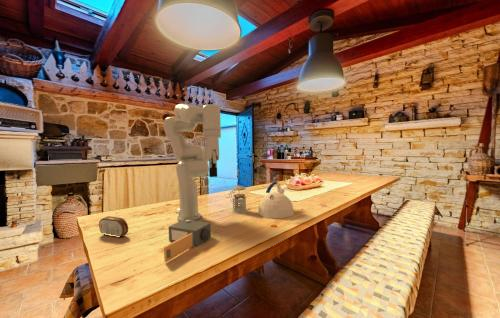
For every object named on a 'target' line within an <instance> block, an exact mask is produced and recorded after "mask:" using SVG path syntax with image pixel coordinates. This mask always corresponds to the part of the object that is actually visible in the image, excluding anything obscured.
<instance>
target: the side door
mask: <svg viewBox="0 0 500 318" xmlns="http://www.w3.org/2000/svg"><path fill="white" fill-rule="evenodd" d="M193 247H194V246H193V233H190V234H188V235H186V236H184V237H182V238H180V239H178V240H176V241H174V242H172V241H171V243H169V244H167V245H164V247H163V253H164V254H163V257H164V262H165V263H167V262H170V261H171V260H173V259H174V258H176V257H177V256H179V255H181V254H183V253H184V252H185V251H188V250H189V249H191V248H193Z"/></svg>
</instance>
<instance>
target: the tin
mask: <svg viewBox="0 0 500 318" xmlns="http://www.w3.org/2000/svg"><path fill="white" fill-rule="evenodd" d="M98 228H99V232H100V233H101V234H102V233H106V234H111V235H116V236H122V237H124V236H126V235H127V234H128V232H129V225H128V223H127V221H126V219H124V218H122V217H119V216H118V217H117V216H105V217H103V218H101V219H100V220H99V221H98Z"/></svg>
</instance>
